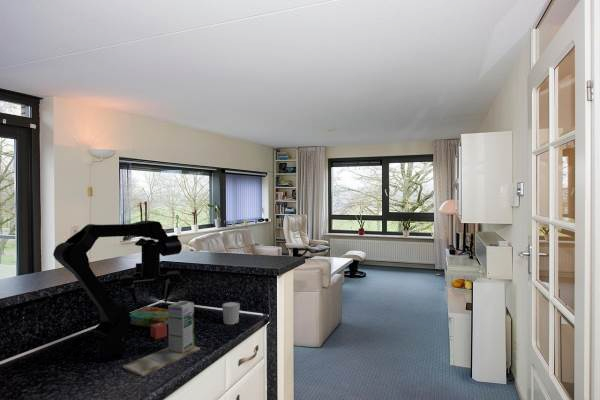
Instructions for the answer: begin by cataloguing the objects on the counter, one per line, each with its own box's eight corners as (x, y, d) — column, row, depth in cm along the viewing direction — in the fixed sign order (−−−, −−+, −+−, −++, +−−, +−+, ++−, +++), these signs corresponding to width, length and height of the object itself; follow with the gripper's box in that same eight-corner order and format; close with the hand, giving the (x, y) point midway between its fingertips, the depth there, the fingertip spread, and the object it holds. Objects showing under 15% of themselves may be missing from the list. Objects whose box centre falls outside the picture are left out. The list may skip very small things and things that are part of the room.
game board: (142, 376, 100) (142, 374, 100) (122, 367, 105) (122, 365, 105) (200, 349, 118) (200, 347, 118) (181, 343, 123) (181, 341, 123)
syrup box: (183, 353, 114) (183, 306, 113) (167, 350, 116) (167, 304, 115) (194, 346, 119) (194, 301, 119) (179, 343, 121) (179, 299, 121)
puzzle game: (144, 304, 151) (185, 309, 145) (144, 315, 151) (184, 321, 145) (122, 313, 140) (164, 319, 134) (122, 325, 140) (164, 332, 134)
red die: (155, 339, 126) (155, 327, 126) (150, 336, 129) (150, 324, 129) (166, 336, 129) (166, 324, 129) (161, 333, 132) (161, 321, 132)
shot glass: (220, 320, 146) (221, 302, 146) (238, 318, 148) (238, 301, 148) (223, 325, 139) (223, 307, 139) (241, 323, 142) (241, 305, 142)
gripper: (176, 252, 134) (176, 295, 134) (119, 256, 126) (119, 301, 126) (181, 257, 124) (181, 303, 124) (119, 261, 116) (120, 310, 116)
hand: (150, 304), depth 123 cm, fingers open, 9 cm apart
